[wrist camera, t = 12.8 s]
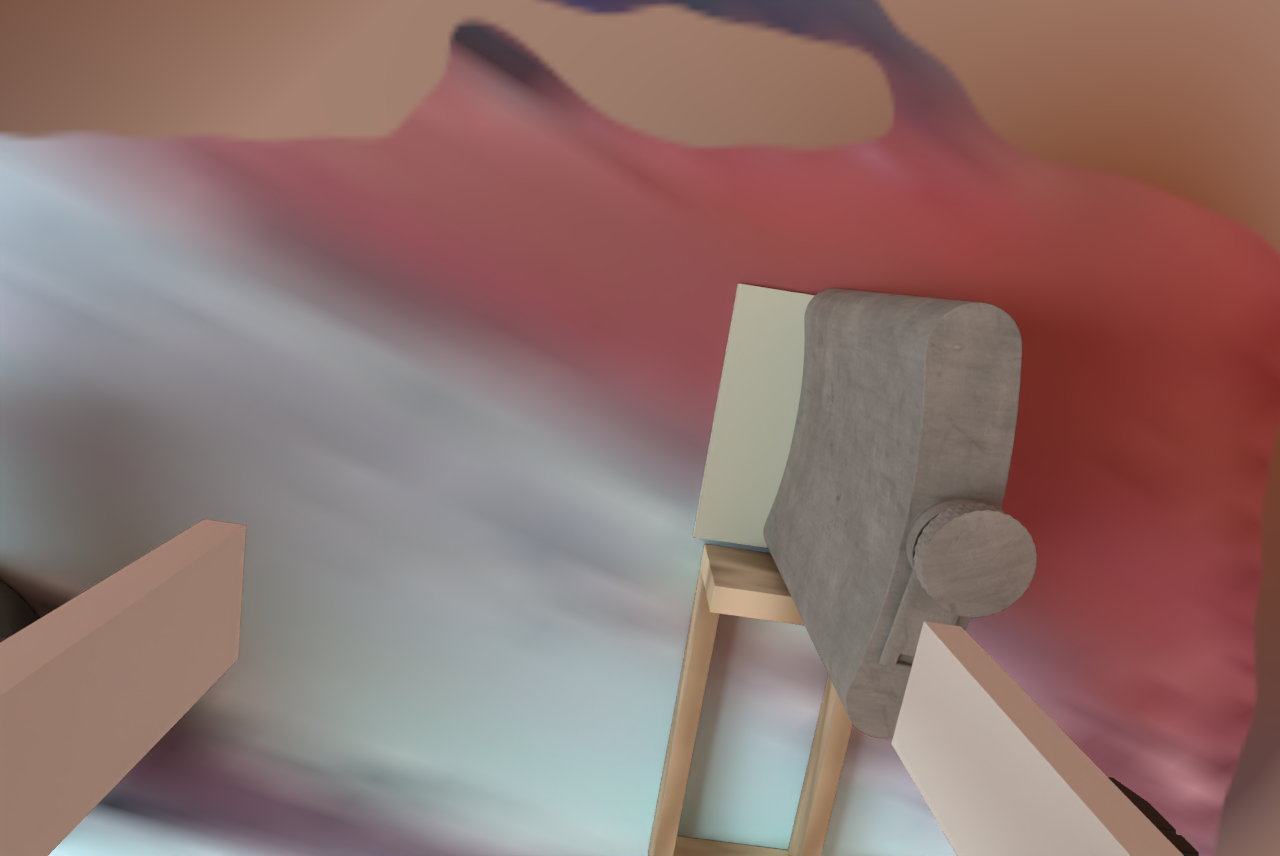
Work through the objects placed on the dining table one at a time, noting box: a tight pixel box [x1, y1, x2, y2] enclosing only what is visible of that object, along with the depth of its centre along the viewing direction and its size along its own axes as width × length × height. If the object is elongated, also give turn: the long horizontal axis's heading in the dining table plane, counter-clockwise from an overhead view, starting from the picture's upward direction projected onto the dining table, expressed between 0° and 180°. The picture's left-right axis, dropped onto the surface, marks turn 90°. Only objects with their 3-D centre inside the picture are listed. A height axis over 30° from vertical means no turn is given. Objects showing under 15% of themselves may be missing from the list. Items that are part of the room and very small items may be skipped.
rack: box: [648, 544, 853, 856], centre depth 44 cm, size 10×22×6 cm, turn 171°
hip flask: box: [763, 288, 1037, 739], centre depth 33 cm, size 16×4×20 cm, turn 172°
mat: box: [693, 283, 815, 548], centre depth 43 cm, size 12×15×1 cm
